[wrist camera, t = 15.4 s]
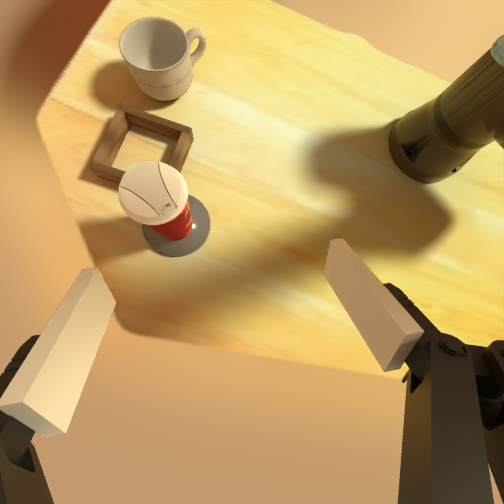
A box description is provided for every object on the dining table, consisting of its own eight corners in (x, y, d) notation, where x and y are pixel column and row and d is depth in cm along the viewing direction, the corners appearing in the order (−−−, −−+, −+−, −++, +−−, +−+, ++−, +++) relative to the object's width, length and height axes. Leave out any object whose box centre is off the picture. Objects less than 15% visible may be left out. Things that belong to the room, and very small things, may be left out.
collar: (127, 116, 43) (120, 103, 40) (193, 139, 44) (191, 127, 41) (98, 176, 40) (88, 167, 38) (169, 199, 41) (165, 192, 38)
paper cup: (208, 228, 40) (200, 195, 27) (170, 256, 39) (141, 235, 25) (180, 193, 41) (158, 143, 27) (141, 219, 39) (98, 179, 26)
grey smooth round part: (157, 185, 41) (156, 184, 41) (218, 205, 42) (218, 204, 41) (133, 244, 39) (132, 244, 39) (197, 264, 40) (197, 264, 39)
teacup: (144, 115, 43) (127, 76, 36) (129, 65, 45) (109, 17, 37) (218, 100, 46) (217, 60, 38) (201, 53, 47) (197, 5, 39)
